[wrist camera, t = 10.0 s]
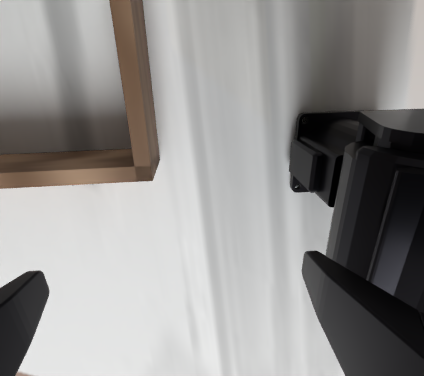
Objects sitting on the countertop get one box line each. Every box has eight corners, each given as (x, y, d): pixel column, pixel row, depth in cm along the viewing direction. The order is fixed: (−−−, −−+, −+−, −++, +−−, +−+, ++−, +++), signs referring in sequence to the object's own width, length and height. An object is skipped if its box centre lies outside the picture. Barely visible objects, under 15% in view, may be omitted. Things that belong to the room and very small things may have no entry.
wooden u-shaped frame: (141, -9, 16) (125, -36, 12) (159, 159, 21) (152, 180, 17) (-135, -7, 16) (-248, -34, 11) (-54, 169, 20) (-116, 194, 16)
